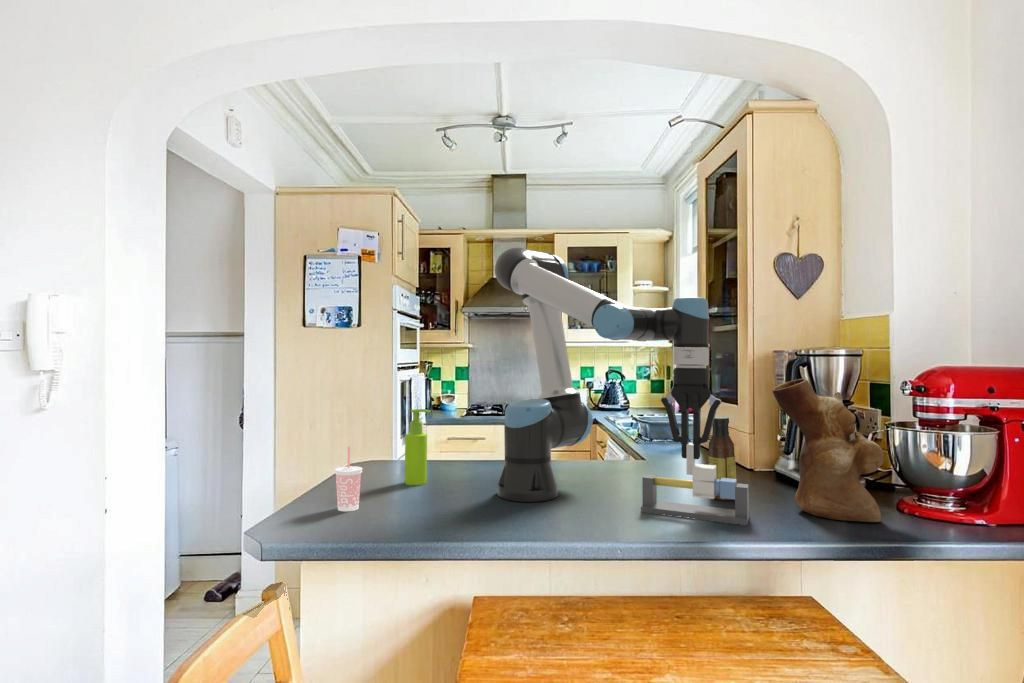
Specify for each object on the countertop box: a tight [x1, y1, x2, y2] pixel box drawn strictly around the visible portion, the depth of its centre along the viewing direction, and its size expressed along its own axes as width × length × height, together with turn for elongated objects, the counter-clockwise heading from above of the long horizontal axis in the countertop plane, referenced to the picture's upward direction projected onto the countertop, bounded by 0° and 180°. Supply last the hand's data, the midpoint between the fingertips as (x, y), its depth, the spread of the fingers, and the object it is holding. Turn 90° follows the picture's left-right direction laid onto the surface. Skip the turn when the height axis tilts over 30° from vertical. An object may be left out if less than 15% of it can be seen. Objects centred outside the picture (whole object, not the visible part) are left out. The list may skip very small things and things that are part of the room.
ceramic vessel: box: [771, 378, 885, 523], centre depth 126 cm, size 16×22×30 cm
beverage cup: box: [334, 446, 363, 512], centre depth 129 cm, size 6×6×14 cm
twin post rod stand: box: [640, 473, 750, 526], centre depth 125 cm, size 22×7×8 cm, turn 64°
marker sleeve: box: [692, 463, 716, 500], centre depth 124 cm, size 4×4×6 cm
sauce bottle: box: [707, 416, 737, 501], centre depth 140 cm, size 7×6×20 cm
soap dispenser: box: [404, 408, 432, 486], centre depth 154 cm, size 6×7×20 cm
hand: (690, 473), depth 125 cm, fingers closed
